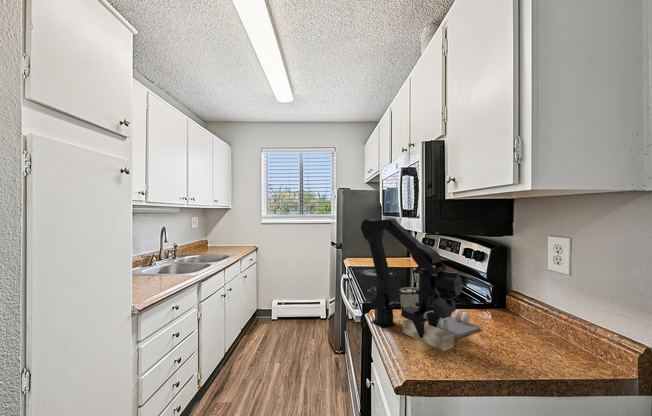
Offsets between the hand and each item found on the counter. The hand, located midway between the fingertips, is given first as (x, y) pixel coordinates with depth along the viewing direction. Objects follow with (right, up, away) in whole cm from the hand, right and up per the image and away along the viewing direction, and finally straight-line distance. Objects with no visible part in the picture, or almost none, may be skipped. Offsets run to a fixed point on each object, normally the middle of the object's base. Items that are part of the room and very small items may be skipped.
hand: (426, 335), depth 99 cm
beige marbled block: (0, -1, 0) cm, 1 cm away
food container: (+2, -1, +24) cm, 24 cm away
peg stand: (+12, -1, +9) cm, 15 cm away
